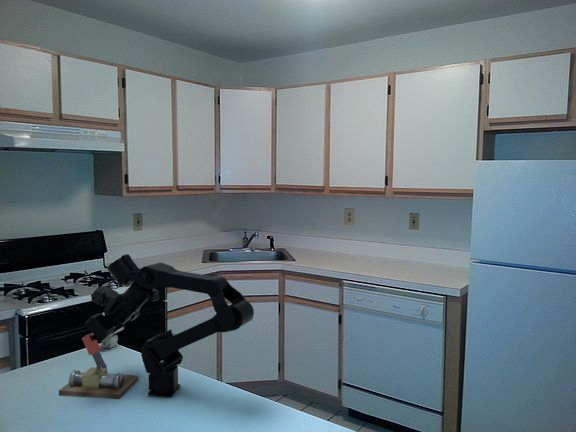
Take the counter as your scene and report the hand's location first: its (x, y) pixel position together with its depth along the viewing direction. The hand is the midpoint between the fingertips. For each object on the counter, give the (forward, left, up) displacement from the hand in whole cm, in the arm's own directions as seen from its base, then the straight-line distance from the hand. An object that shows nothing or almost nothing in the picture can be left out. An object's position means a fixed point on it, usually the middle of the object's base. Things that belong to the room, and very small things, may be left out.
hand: (94, 338), depth 120 cm
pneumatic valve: (+10, -26, -12) cm, 30 cm away
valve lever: (-3, 0, -9) cm, 9 cm away
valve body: (-3, +4, -11) cm, 12 cm away
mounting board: (-3, +2, -12) cm, 13 cm away
